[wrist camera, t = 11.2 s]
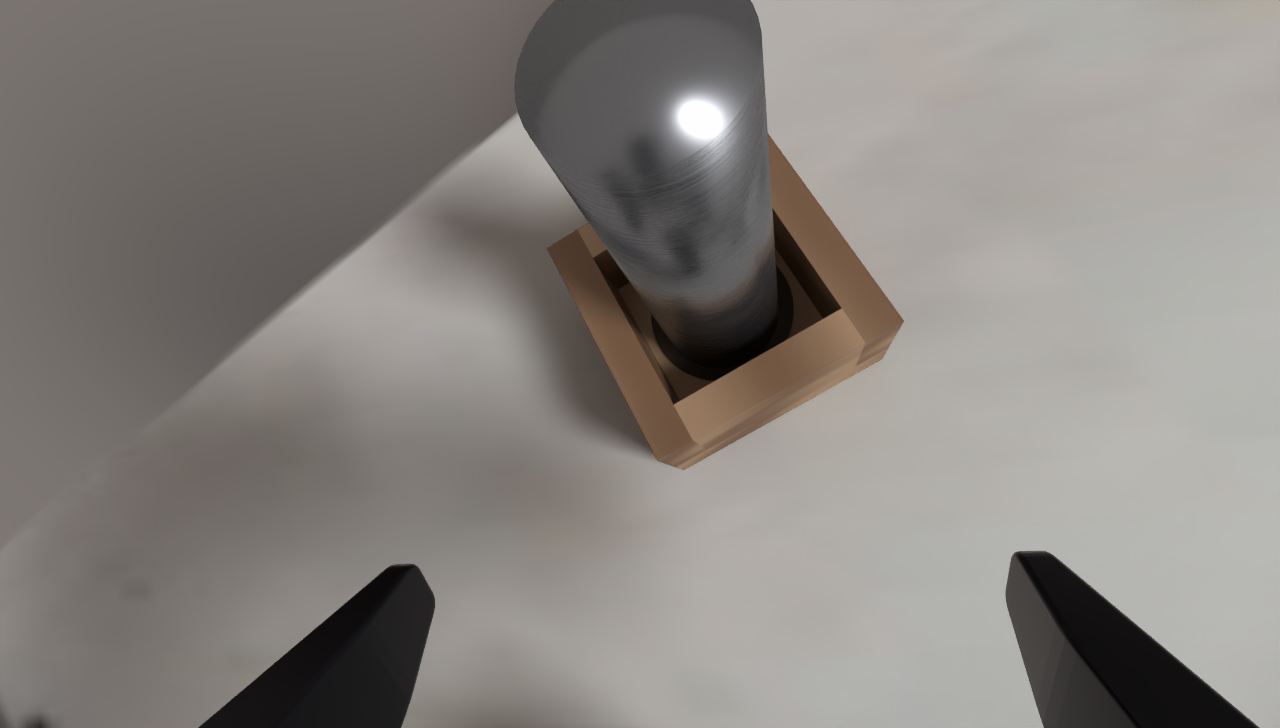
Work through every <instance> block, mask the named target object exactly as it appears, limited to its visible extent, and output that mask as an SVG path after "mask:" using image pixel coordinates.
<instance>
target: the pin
mask: <svg viewBox="0 0 1280 728" xmlns="http://www.w3.org/2000/svg"><path fill="white" fill-rule="evenodd" d="M515 99H516V105H517V109H518V114H519V116H520V119H521V121H522V124H523V126H524V128H525V130H526V131H527V133H528V135H529V136H530V138H531V139H532V141H533V142H534V144H535V145H536V147H537V148H538V150H539V151H540V152H541V154H542V155H543V157H544V158H545V160H546V161H547V163H548V164H549V165H550V167H551V168H552V170H553V171H554V173H555V174H556V176H557V177H558V179H559V180H560V181H561V183H562V184H563V186H564V187H565V189H566V190H567V192H568V193H569V195H570V196H571V197H572V199H573V200H574V202H575V203H576V205H577V206H578V208H579V209H580V211H581V212H582V213H583V215H584V216H585V218H586V219H587V221H588V222H589V224H590V225H591V226H592V228H593V229H594V231H595V232H596V234H597V235H598V237H599V238H600V240H601V241H602V242H603V244H604V245H605V247H606V248H607V250H608V251H609V253H610V254H611V256H612V257H613V258H614V260H615V261H616V263H617V264H618V266H619V267H620V269H621V270H622V272H623V273H624V274H625V276H626V277H627V279H628V280H629V282H630V283H631V285H632V286H633V288H634V289H635V290H636V292H637V293H638V295H639V296H640V298H641V299H642V301H643V302H644V303H645V305H646V306H647V308H648V309H649V311H650V312H651V314H652V315H653V317H654V318H655V319H656V321H657V322H658V324H659V325H660V327H661V328H662V330H663V331H664V333H665V334H666V335H667V337H668V338H669V340H670V341H671V343H672V344H673V346H674V347H675V348H676V349H677V351H678V352H679V353H680V354H682V355H683V356H684V357H685V358H687V359H688V360H690V361H692V362H693V363H695V364H698V365H701V366H704V367H709V368H729V367H734V366H737V365H740V364H743V363H745V362H747V361H749V360H750V359H752V358H754V357H755V356H756V355H758V354H759V353H760V352H761V351H762V350H763V349H764V348H765V347H766V346H767V344H768V343H769V341H770V340H771V338H772V336H773V334H774V332H775V329H776V327H777V322H778V315H779V308H778V292H777V276H776V260H775V243H774V227H773V211H772V195H771V179H770V163H769V147H768V131H767V115H766V99H765V83H764V67H763V51H762V34H761V28H760V23H759V19H758V16H757V13H756V11H755V8H754V6H753V4H752V2H751V1H750V0H555V1H554V2H553V3H552V4H551V6H549V8H548V9H547V10H546V11H545V12H544V13H543V15H542V16H541V17H540V18H539V20H538V21H537V23H536V24H535V26H534V27H533V29H532V31H531V32H530V34H529V36H528V38H527V40H526V42H525V44H524V46H523V48H522V52H521V54H520V57H519V60H518V65H517V70H516V75H515Z"/></svg>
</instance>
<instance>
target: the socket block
mask: <svg viewBox="0 0 1280 728" xmlns="http://www.w3.org/2000/svg"><path fill="white" fill-rule="evenodd" d="M768 147H769V163H770V179H771V195H772V211H773V227H774V243H775V260H776V276H777V292H778V308H779V315H778V322H777V327H776V329H775V332H774V334H773V336H772V338H771V340H770V341H769V343H768V344H767V346H766V347H765V348H764V349H763V350H762V351H761V352H760V353H759V354H758V355H756V356H755V357H754V358H752V359H750V360H749V361H747V362H745V363H743V364H740V365H737V366H734V367H729V368H709V367H704V366H701V365H698V364H695V363H693V362H692V361H690V360H688V359H687V358H685V357H684V356H683V355H682V354H680V353H679V352H678V351H677V349H676V348H675V347H674V346H673V344H672V343H671V341H670V340H669V338H668V337H667V335H666V334H665V333H664V331H663V330H662V328H661V327H660V325H659V324H658V322H657V321H656V319H655V318H654V317H653V315H652V314H651V312H650V311H649V309H648V308H647V306H646V305H645V303H644V302H643V301H642V299H641V298H640V296H639V295H638V293H637V292H636V290H635V289H634V288H633V286H632V285H631V283H630V282H629V280H628V279H627V277H626V276H625V274H624V273H623V272H622V270H621V269H620V267H619V266H618V264H617V263H616V261H615V260H614V258H613V257H612V256H611V254H610V253H609V251H608V250H607V248H606V247H605V245H604V244H603V242H602V241H601V240H600V238H599V237H598V235H597V234H596V232H595V231H594V229H593V228H592V226H591V225H590V224H589V223H587V224H586V225H584V226H582V227H581V228H579V229H578V230H576V231H574V232H573V233H571V234H569V235H568V236H566V237H565V238H563V239H561V240H560V241H558V242H556V243H555V244H553V245H552V246H550V247H548V248H547V250H548V251H549V253H550V255H551V257H552V259H553V261H554V263H555V265H556V267H557V269H558V271H559V273H560V275H561V276H562V278H563V280H564V282H565V284H566V286H567V288H568V290H569V292H570V294H571V296H572V298H573V300H574V301H575V303H576V305H577V307H578V309H579V311H580V313H581V315H582V317H583V319H584V321H585V323H586V324H587V326H588V328H589V330H590V332H591V334H592V336H593V338H594V340H595V342H596V344H597V346H598V348H599V349H600V351H601V353H602V355H603V357H604V359H605V361H606V363H607V365H608V367H609V369H610V371H611V373H612V374H613V376H614V378H615V380H616V382H617V384H618V386H619V388H620V390H621V392H622V394H623V396H624V397H625V399H626V401H627V403H628V405H629V407H630V409H631V411H632V413H633V415H634V417H635V419H636V421H637V422H638V424H639V426H640V428H641V430H642V432H643V434H644V436H645V438H646V440H647V442H648V444H649V446H650V447H651V449H652V451H653V453H654V455H655V457H656V459H657V460H658V461H661V462H663V463H666V464H669V465H671V466H674V467H677V468H680V469H682V470H685V469H686V468H688V467H690V466H692V465H694V464H695V463H697V462H699V461H701V460H703V459H704V458H706V457H708V456H710V455H711V454H713V453H715V452H717V451H719V450H720V449H722V448H724V447H726V446H728V445H729V444H731V443H733V442H735V441H736V440H738V439H740V438H742V437H744V436H745V435H747V434H749V433H751V432H753V431H754V430H756V429H758V428H760V427H762V426H763V425H765V424H767V423H769V422H770V421H772V420H774V419H776V418H778V417H779V416H781V415H783V414H785V413H787V412H788V411H790V410H792V409H794V408H795V407H797V406H799V405H801V404H803V403H804V402H806V401H808V400H810V399H812V398H813V397H815V396H817V395H819V394H820V393H822V392H824V391H826V390H828V389H829V388H831V387H833V386H835V385H837V384H838V383H840V382H842V381H844V380H845V379H847V378H849V377H851V376H853V375H854V374H856V373H858V372H860V371H862V370H863V369H865V368H867V367H869V366H870V365H872V364H874V363H876V362H878V361H879V360H881V359H882V358H883V357H884V355H885V353H886V351H887V350H888V348H889V346H890V344H891V343H892V341H893V339H894V337H895V336H896V334H897V332H898V331H899V329H900V327H901V325H902V324H903V322H904V320H903V319H902V318H901V316H900V315H899V313H898V312H897V311H896V309H895V308H894V306H893V305H892V304H891V302H890V301H889V300H888V298H887V297H886V295H885V294H884V293H883V291H882V290H881V289H880V287H879V286H878V284H877V283H876V282H875V280H874V279H873V278H872V276H871V275H870V273H869V272H868V271H867V269H866V268H865V267H864V265H863V264H862V262H861V261H860V260H859V258H858V257H857V255H856V254H855V253H854V251H853V250H852V249H851V247H850V246H849V244H848V243H847V242H846V240H845V239H844V238H843V236H842V235H841V233H840V232H839V231H838V229H837V228H836V227H835V225H834V224H833V222H832V221H831V220H830V218H829V217H828V216H827V214H826V213H825V211H824V210H823V209H822V207H821V206H820V204H819V203H818V202H817V200H816V199H815V198H814V196H813V195H812V193H811V192H810V191H809V189H808V188H807V187H806V185H805V184H804V182H803V181H802V180H801V178H800V177H799V176H798V174H797V173H796V171H795V170H794V169H793V167H792V166H791V165H790V163H789V162H788V160H787V159H786V158H785V156H784V155H783V153H782V152H781V151H780V149H779V148H778V147H777V145H776V144H775V142H774V141H773V140H772V138H771V137H770V136H769V134H768Z"/></svg>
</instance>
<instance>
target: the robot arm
mask: <svg viewBox="0 0 1280 728" xmlns="http://www.w3.org/2000/svg"><path fill="white" fill-rule="evenodd" d="M1006 603H1007V607H1008V611H1009V614H1010V618H1011V621H1012V624H1013V628H1014V631H1015V634H1016V638H1017V641H1018V645H1019V648H1020V651H1021V655H1022V658H1023V661H1024V665H1025V668H1026V671H1027V675H1028V678H1029V681H1030V685H1031V688H1032V691H1033V695H1034V698H1035V701H1036V705H1037V708H1038V711H1039V714H1040V717H1041V720H1042V724H1043V726H1044V728H1259V727H1258V726H1257V725H1256V724H1254V723H1253V722H1252V721H1251V720H1250V719H1248V718H1247V717H1246V716H1245V715H1244V714H1242V713H1241V712H1240V711H1239V710H1238V709H1237V708H1235V707H1234V706H1233V705H1232V704H1231V703H1229V702H1228V701H1227V700H1226V699H1225V698H1223V697H1222V696H1221V695H1220V694H1219V693H1217V692H1216V691H1215V690H1214V689H1213V688H1211V687H1210V686H1209V685H1208V684H1207V683H1205V682H1204V681H1203V680H1202V679H1201V678H1200V677H1198V676H1197V675H1196V674H1195V673H1194V672H1192V671H1191V670H1190V669H1189V668H1188V667H1186V666H1185V665H1184V664H1183V663H1182V662H1180V661H1179V660H1178V659H1177V658H1176V657H1174V656H1173V655H1172V654H1171V653H1170V652H1168V651H1167V650H1166V649H1165V648H1164V647H1163V646H1161V645H1160V644H1159V643H1158V642H1157V641H1155V640H1154V639H1153V638H1152V637H1151V636H1149V635H1148V634H1147V633H1146V632H1145V631H1143V630H1142V629H1141V628H1140V627H1139V626H1137V625H1136V624H1135V623H1134V622H1133V621H1131V620H1130V619H1129V618H1128V617H1127V616H1126V615H1124V614H1123V613H1122V612H1121V611H1120V610H1118V609H1117V608H1116V607H1115V606H1114V605H1112V604H1111V603H1110V602H1109V601H1108V600H1106V599H1105V598H1104V597H1103V596H1102V595H1100V594H1099V593H1098V592H1097V591H1096V590H1094V589H1093V588H1092V587H1091V586H1090V585H1088V584H1087V583H1086V582H1085V581H1084V580H1083V579H1081V578H1080V577H1079V576H1078V575H1077V574H1075V573H1074V572H1073V571H1072V570H1071V569H1069V568H1068V567H1067V566H1066V565H1065V564H1063V563H1062V562H1061V561H1060V560H1059V559H1057V558H1056V557H1055V556H1054V555H1052V554H1051V553H1048V552H1046V551H1018V552H1015V553H1014V554H1013V555H1012V558H1011V562H1010V568H1009V574H1008V580H1007V585H1006ZM434 609H435V598H434V594H433V592H432V590H431V589H430V587H429V585H428V583H427V581H426V580H425V578H424V576H423V574H422V572H421V571H420V569H419V568H418V567H417V566H416V565H414V564H396V565H392V566H390V567H388V568H387V569H385V570H384V571H383V572H382V573H381V574H379V575H378V576H377V577H376V578H375V579H374V580H372V581H371V582H370V583H369V584H368V585H366V586H365V587H364V588H363V589H362V590H361V591H359V592H358V593H357V594H356V595H355V596H353V597H352V598H351V599H350V600H349V601H348V602H346V603H345V604H344V605H343V606H342V607H340V608H339V609H338V610H337V611H336V612H335V613H333V614H332V615H331V616H330V617H329V618H327V619H326V620H325V621H324V622H323V623H322V624H320V625H319V626H318V627H317V628H316V629H314V630H313V631H312V632H311V633H310V634H309V635H307V636H306V637H305V638H304V639H303V640H302V641H300V642H299V643H298V644H297V645H296V646H294V647H293V648H292V649H291V650H290V651H289V652H287V653H286V654H285V655H284V656H283V657H281V658H280V659H279V660H278V661H277V662H276V663H274V664H273V665H272V666H271V667H270V668H268V669H267V670H266V671H265V672H264V673H263V674H261V675H260V676H259V677H258V678H257V679H255V680H254V681H253V682H252V683H251V684H250V685H248V686H247V687H246V688H245V689H244V690H242V691H241V692H240V693H239V694H238V695H237V696H235V697H234V698H233V699H232V700H231V701H229V702H228V703H227V704H226V705H225V706H224V707H222V708H221V709H220V710H219V711H218V712H216V713H215V714H214V715H213V716H212V717H210V718H209V719H208V720H207V721H206V722H205V723H203V724H202V725H201V726H200V727H199V728H401V726H402V724H403V721H404V718H405V715H406V712H407V709H408V706H409V703H410V700H411V697H412V693H413V690H414V686H415V683H416V679H417V675H418V671H419V667H420V663H421V660H422V656H423V652H424V648H425V644H426V641H427V637H428V633H429V629H430V625H431V621H432V618H433V614H434Z"/></svg>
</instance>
